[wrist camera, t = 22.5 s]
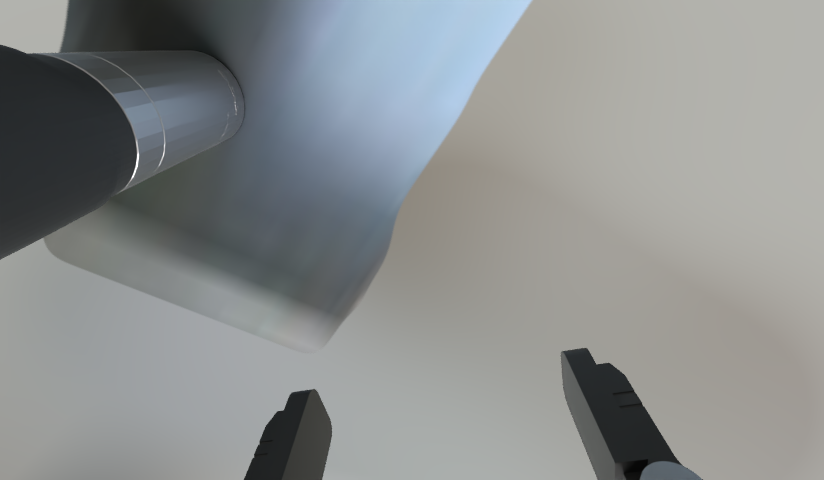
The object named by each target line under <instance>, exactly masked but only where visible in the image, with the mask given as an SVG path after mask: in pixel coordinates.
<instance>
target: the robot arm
mask: <svg viewBox="0 0 824 480" xmlns="http://www.w3.org/2000/svg"><path fill="white" fill-rule="evenodd" d="M244 110H245V107H244V98H243V95H242V91H241V88H240V86H239V84H238V82H237V80H236V79H235V77H234V76H233V75H232V73H231V72H230V71H229V70H228V69H227V68H226V67H225V66H224V65H223V64H222V63H221V62H219V61H218V60H217V59H215V58H214V57H212V56H210V55H207V54H205V53H203V52H198V51H193V50H175V51H166V50H160V51H112V52H72V53H33V54H26V53H24V52H21V51H19V50H16V49H13V48H10V47H7V46H3V45H0V259H2V258H4V257H6V256H8V255H10V254H12V253H14V252H16V251H18V250H20V249H22V248H24V247H26V246H28V245H30V244H32V243H34V242H35V241H37V240H39V239H41V238H43V237H45V236H47V235H49V234H51V233H52V232H54V231H56V230H58V229H60V228H62V227H64V226H66V225H67V224H69V223H71V222H73V221H75V220H77V219H79V218H80V217H82V216H84V215H86V214H88V213H90V212H92V211H94V210H96V209H98V208H99V207H101V206H102V205H103V204H105V203H106V202H107V201H108V200H109V199H110V197H111V196H113V195H115V194H118V193H120V192H122V191H124V190H126V189H128V188H130V187H132V186H134V185H136V184H138V183H140V182H142V181H144V180H146V179H148V178H150V177H152V176H154V175H156V174H158V173H160V172H162V171H164V170H166V169H168V168H170V167H172V166H175V165H177V164H179V163H181V162H183V161H185V160H187V159H189V158H191V157H193V156H195V155H197V154H199V153H201V152H203V151H205V150H208V149H210V148H212V147H214V146H216V145H218V144H220V143H222V142H224V141H226V140H228V139H230V138H231V137H232V136H233V135H234V134H236V132H237V131H238V129H239V128H240V126H241V124H242V121H243V118H244ZM561 363H562V378H563V389H564V393H565V398H566V401H567V404H568V407H569V410H570V412H571V415H572V417H573V419H574V422H575V425H576V427H577V429H578V432H579V434H580V437H581V439H582V442H583V444H584V447H585V449H586V452H587V454H588V456H589V459H590V461H591V464H592V466H593V469H594V471H595V474H596V476H597V479H598V480H703V479H701V478H700V477H699V476H698V475H697V474H695V473H694V472H692V471H691V470H689V469H688V468H686V467H684V466H683V465H682V464H681V463H680V462H679V461H678V460H677V459H676V457H675V456H674V454H673V453H672V451H671V449H670V448H669V446H668V445H667V443H666V441H665V440H664V438H663V436H662V435H661V433H660V432H659V430H658V428H657V427H656V425H655V424H654V422H653V420H652V419H651V417H650V415H649V414H648V412H647V410H646V409H645V407H643V405H642V402H641V401H640V399H639V397H638V396H637V394H635V392H634V390H633V388H632V386H631V384H630V383H629V381H628V380H627V378H626V376H625V375H624V374H623V373H622V372H620V371H619V370H618V369H617V368H615V367H614V366H613V365H611V364H610V363H604V364H598V365H596V363H595V361H594V359H593V357H592V356H591V354H590V352H589V351H588V349H587V348H581V349H575V350H568V351H562V352H561ZM331 437H332V426H331V421H330V418H329V416H328V414H327V412H326V409H325V407H324V405H323V403H322V401H321V398H320V396H319V394H318V392H317V391H316V390H315V389H313V390H305V391H299V392H293V393H291V395H290V396H289V398H288V401H287V404H286V406H285V409H284V411H278V412H277V413H276V414H275V415H274V417H273V418H272V419H271V420H270V422H269V423H268V424H267V425H266V427H265V430H264V432H263V434H262V437H261V439H260V445H258V447H257V449H256V452H255V454H254V458H253V459H252V462H251V464H250V466H249V469H248V471H247V474H246V476H245V478H244V480H322V477H323V473H324V468H325V464H326V460H327V456H328V451H329V447H330V442H331Z"/></svg>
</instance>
